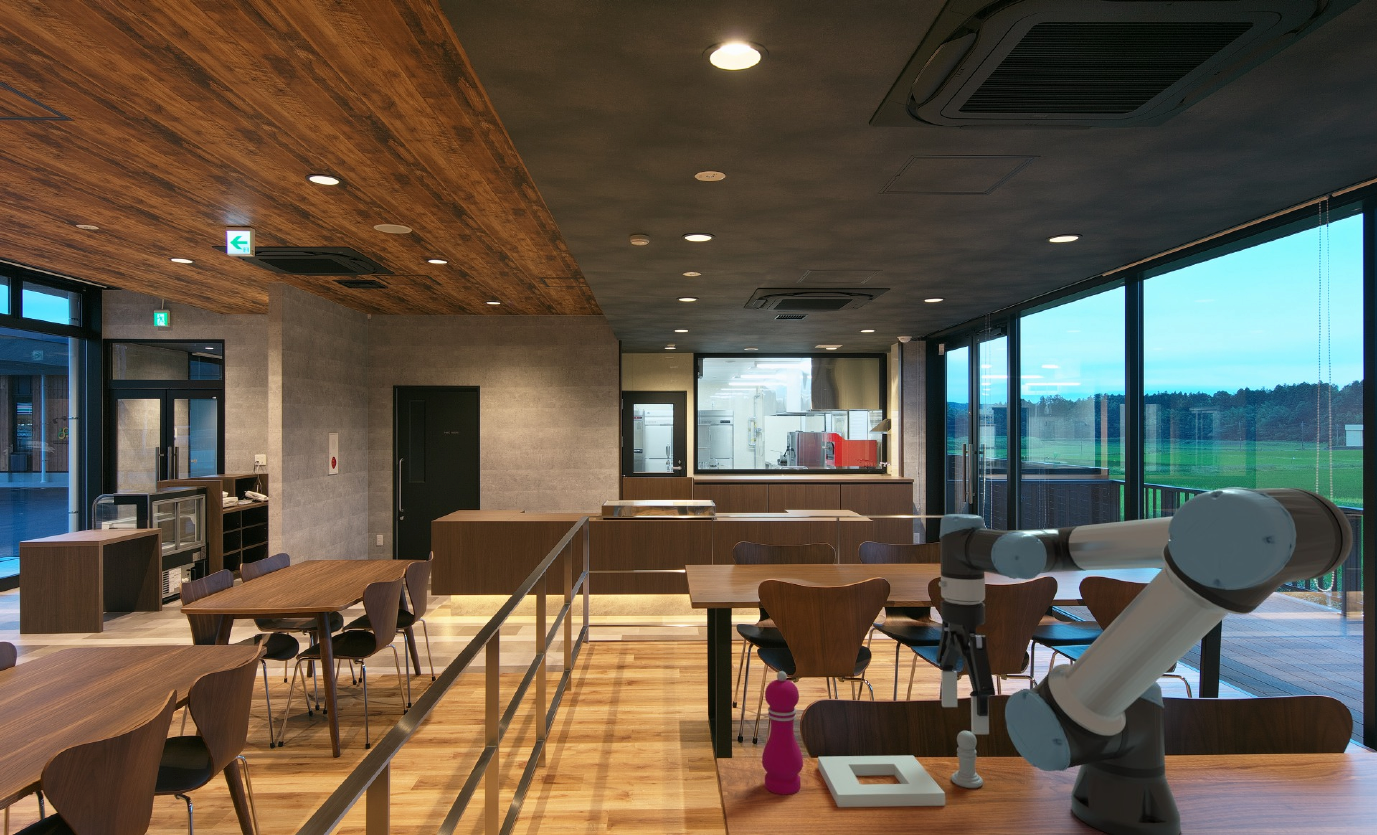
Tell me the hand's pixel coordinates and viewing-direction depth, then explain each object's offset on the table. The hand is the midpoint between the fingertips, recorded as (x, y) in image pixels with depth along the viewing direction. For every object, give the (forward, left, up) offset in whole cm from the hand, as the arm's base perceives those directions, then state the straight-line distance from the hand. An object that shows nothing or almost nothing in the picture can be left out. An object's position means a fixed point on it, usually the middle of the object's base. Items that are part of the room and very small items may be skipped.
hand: (964, 719), depth 134 cm
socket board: (+11, +12, -11) cm, 19 cm away
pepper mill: (+23, +24, -11) cm, 35 cm away
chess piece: (0, 0, -11) cm, 11 cm away
